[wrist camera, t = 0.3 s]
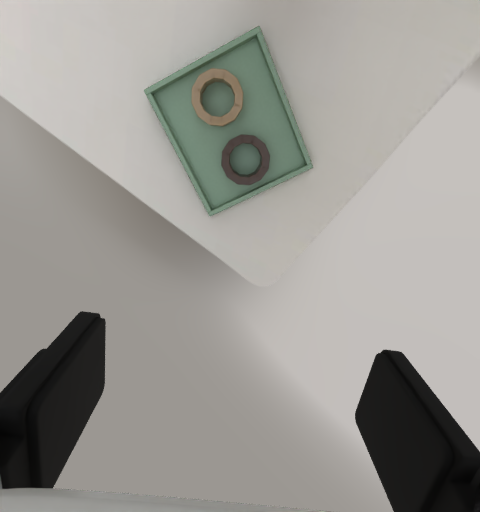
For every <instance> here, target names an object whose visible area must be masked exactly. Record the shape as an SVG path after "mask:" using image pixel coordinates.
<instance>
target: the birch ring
mask: <svg viewBox="0 0 480 512" xmlns="http://www.w3.org/2000/svg"><path fill="white" fill-rule="evenodd" d="M214 82H220V83H225V84H226V85H227V86H229V87H230V88H231V89H232V92H233V94H234V96H235V98H234V105H233V107H232V109H231V110H230V112H229V113H227V114H225V115H223V116H222V117H217V116H211V115H210V114H208V113H207V112H206V110H205V108H204V106H203V104H202V102H203V93H204V91H205V90H206V88H207V86H209V85H211V84H213V83H214ZM191 103H192V105H193V107H194V110H195V112H196V114H197V116H198V117H199V118H201V119H202V120H203V121H205V122H206V123H207V124H209V125H211V126H222V127H224V126H226V125H228V124H230V123H232V122H233V121H235V120H236V118H237V117H238V115H239V113H240V112H241V110H242V105H243V90H242V88H241V86H240V83H239V81H238V79H237V78H236V77H235V76H234V75H232V74H231V73H230V72H229V71H227V70H225V69H216V68H211V69H209V70H207V71H205V72H204V73H202V74H200V75H199V76H198V78H197V80H196V81H195V83H194V85H193V87H192V100H191Z"/></svg>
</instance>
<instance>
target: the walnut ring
mask: <svg viewBox="0 0 480 512" xmlns="http://www.w3.org/2000/svg"><path fill="white" fill-rule="evenodd" d="M242 143H246V144H252V145H253V146H255V147H256V148H257V149H258V152H259V154H260V164H259V166H258V167H257V169H256V170H255V171H254V172H252V173H250V174H248V175H246V174H239V173H238V172H236V171H235V170H233V168H232V166H231V164H230V154H231V152H232V151H233V149H234V148H235V147H236V146H238V145H240V144H242ZM269 162H270V154H269V152H268V149H267V147H266V145H265V143H264V142H262V141H261V140H260V139H258V138H257V137H256V136H254V135H243V134H241V135H239V136H237V137H235V138H233V139H231V140H229V142H228V143H227V145H226V146H225V148H224V149H223V151H222V160H221V166H222V168H223V170H224V172H225V174H226V176H227V177H228V178H229V179H230V180H232V181H233V182H235V183H236V184H239V185H251V184H254V183H256V182H258V181H260V180H261V179H262V178H263V177H264V175H265V174H266V172H267V171H268V169H269Z"/></svg>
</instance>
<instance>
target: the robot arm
mask: <svg viewBox="0 0 480 512" xmlns="http://www.w3.org/2000/svg"><path fill="white" fill-rule="evenodd" d="M104 384H105V319H102V318H100V314H98V313H91V312H83V311H82V312H80V313H78V315H77V316H76V317H75V318H74V319H73V320H72V321H71V322H70V323H69V325H68V326H67V327H66V328H65V329H64V330H63V331H62V332H61V334H60V335H59V336H58V337H57V338H56V339H55V340H54V341H53V342H52V343H51V345H50V346H49V347H48V348H47V349H42V350H40V351H39V352H38V353H37V354H36V355H35V356H34V357H33V358H32V359H31V360H30V362H28V364H27V365H26V366H25V367H24V368H23V369H22V370H21V371H20V372H19V373H18V374H17V375H16V377H15V378H14V379H13V380H12V381H11V382H10V383H9V384H8V385H7V386H6V387H5V388H4V389H3V391H2V392H1V393H0V512H330V511H320V510H308V509H298V508H287V507H276V506H265V505H254V504H244V503H232V502H221V501H210V500H199V499H186V498H175V497H163V496H151V495H139V494H128V493H116V492H100V491H86V490H69V489H53V487H54V485H55V483H56V481H57V479H58V477H59V475H60V473H61V471H62V469H63V468H64V466H65V464H66V462H67V460H68V458H69V456H70V454H71V452H72V450H73V449H74V447H75V445H76V443H77V441H78V439H79V437H80V435H81V433H82V431H83V429H84V428H85V426H86V424H87V422H88V420H89V418H90V416H91V414H92V412H93V410H94V408H95V406H96V405H97V403H98V401H99V399H100V397H101V395H102V393H103V389H104ZM355 419H356V424H357V426H358V428H359V431H360V433H361V435H362V438H363V440H364V442H365V445H366V447H367V450H368V452H369V454H370V457H371V459H372V461H373V464H374V466H375V468H376V471H377V473H378V475H379V478H380V480H381V483H382V485H383V487H384V489H385V492H386V494H387V497H388V499H389V501H390V504H391V506H392V508H393V511H394V512H480V452H479V450H478V449H477V448H476V446H475V445H474V444H473V443H472V441H471V440H470V439H469V437H468V436H467V435H466V434H465V432H464V431H463V430H462V428H461V427H460V426H459V425H458V423H457V422H456V421H455V419H454V418H453V417H452V416H451V414H450V413H449V412H448V410H447V409H446V408H445V407H444V405H443V404H442V403H441V402H440V400H439V399H438V398H437V397H436V395H435V394H434V393H433V392H432V390H431V389H430V387H429V386H428V385H427V384H426V382H425V381H424V380H423V379H422V377H421V376H420V375H419V373H418V372H417V371H416V369H415V368H414V367H413V366H412V364H411V363H410V362H409V360H408V359H407V358H406V357H405V355H404V354H403V353H402V352H399V351H391V350H383V351H382V352H381V353H378V354H377V355H376V357H375V359H374V362H373V365H372V368H371V371H370V373H369V376H368V379H367V382H366V384H365V387H364V390H363V393H362V395H361V398H360V401H359V404H358V407H357V409H356V413H355Z"/></svg>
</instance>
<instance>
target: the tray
mask: <svg viewBox="0 0 480 512" xmlns="http://www.w3.org/2000/svg"><path fill="white" fill-rule="evenodd" d="M211 68H216V69H225V70H227V71H229V72H230V73H231V74H232V75H234V76H235V77H236V78H237V79H238V81H239V83H240V86H241V88H242V90H243V105H242V110H241V112H240V113H239V115H238V117H237V118H236V120H235V121H233V122H232V123H230V124H228V125H226V126H224V127H222V126H211V125H209V124H207V123H206V122H205V121H203V120H202V119H201V118H199V117H198V116H197V114H196V112H195V110H194V107H193V105H192V103H191V100H192V87H193V85H194V83H195V81H196V80H197V78H198V76H199V75H200V74H202V73H204V72H205V71H207V70H209V69H211ZM144 92H145V93H146V95H147V97H148V99H149V101H150V103H151V105H152V107H153V109H154V111H155V113H156V115H157V117H158V118H159V120H160V122H161V124H162V126H163V128H164V130H165V132H166V134H167V136H168V138H169V140H170V141H171V143H172V145H173V147H174V149H175V151H176V153H177V155H178V157H179V159H180V161H181V163H182V165H183V166H184V168H185V170H186V172H187V174H188V176H189V178H190V180H191V182H192V184H193V186H194V188H195V189H196V191H197V193H198V195H199V197H200V199H201V201H202V203H203V205H204V207H205V209H206V211H207V212H208V214H209V216H212V215H214V214H216V213H219V212H221V211H223V210H225V209H227V208H229V207H231V206H233V205H235V204H237V203H240V202H242V201H244V200H246V199H248V198H250V197H252V196H254V195H256V194H258V193H261V192H263V191H265V190H267V189H269V188H271V187H273V186H275V185H277V184H279V183H282V182H284V181H286V180H288V179H290V178H292V177H294V176H296V175H298V174H300V173H303V172H305V171H307V170H309V169H311V168H313V165H312V163H311V160H310V157H309V155H308V152H307V150H306V147H305V144H304V142H303V139H302V137H301V134H300V131H299V129H298V126H297V123H296V121H295V118H294V116H293V113H292V110H291V108H290V105H289V103H288V100H287V97H286V95H285V92H284V89H283V87H282V84H281V82H280V79H279V76H278V74H277V71H276V69H275V66H274V63H273V61H272V58H271V55H270V53H269V50H268V48H267V45H266V42H265V40H264V37H263V35H262V32H261V29H260V27H259V26H258V27H256V28H254V29H253V30H251V31H249V32H247V33H245V34H244V35H242V36H240V37H238V38H236V39H235V40H233V41H231V42H229V43H227V44H226V45H224V46H222V47H220V48H219V49H217V50H215V51H213V52H211V53H210V54H208V55H206V56H204V57H202V58H201V59H199V60H197V61H195V62H193V63H192V64H190V65H188V66H186V67H184V68H183V69H181V70H179V71H177V72H175V73H174V74H172V75H170V76H168V77H166V78H165V79H163V80H161V81H159V82H157V83H156V84H154V85H152V86H150V87H148V88H147V89H145V90H144ZM234 98H235V96H234V94H233V92H232V89H231V88H230V87H229V86H227V85H226V84H225V83H220V82H214V83H213V84H211V85H209V86H207V88H206V90H205V91H204V93H203V102H202V104H203V106H204V108H205V110H206V112H207V113H208V114H210V115H211V116H217V117H222V116H223V115H225V114H227V113H229V112H230V110H231V109H232V107H233V105H234ZM241 134H243V135H254V136H256V137H257V138H258V139H260V140H261V141H262V142H264V143H265V145H266V147H267V149H268V152H269V154H270V162H269V169H268V171H267V172H266V174H265V175H264V177H263V178H262V179H261V180H260V181H258V182H256V183H254V184H251V185H239V184H236V183H235V182H233V181H232V180H230V179H229V178H228V177H227V176H226V174H225V172H224V170H223V168H222V166H221V160H222V151H223V149H224V148H225V146H226V145H227V143H228V142H229V140H231V139H233V138H235V137H237V136H239V135H241ZM230 164H231V166H232V168H233V170H235V171H236V172H238V173H239V174H246V175H248V174H250V173H252V172H254V171H255V170H256V169H257V167H258V166H259V164H260V154H259V152H258V149H257V148H256V147H255V146H253V145H252V144H246V143H242V144H240V145H238V146H236V147H235V148H234V149H233V151H232V152H231V154H230Z"/></svg>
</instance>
